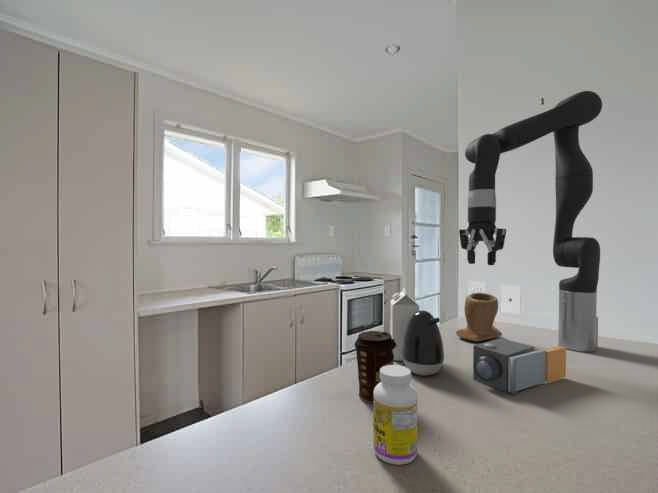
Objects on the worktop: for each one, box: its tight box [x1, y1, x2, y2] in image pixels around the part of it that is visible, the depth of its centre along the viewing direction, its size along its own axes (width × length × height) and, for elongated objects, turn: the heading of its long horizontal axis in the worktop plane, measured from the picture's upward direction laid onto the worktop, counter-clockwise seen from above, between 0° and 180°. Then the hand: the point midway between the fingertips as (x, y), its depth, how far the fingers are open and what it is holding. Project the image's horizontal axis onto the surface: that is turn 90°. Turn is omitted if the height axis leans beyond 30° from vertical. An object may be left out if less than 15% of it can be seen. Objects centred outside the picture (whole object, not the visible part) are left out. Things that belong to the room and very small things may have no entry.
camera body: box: [472, 337, 535, 393], centre depth 79 cm, size 14×8×8 cm, turn 122°
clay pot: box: [455, 292, 503, 342], centre depth 113 cm, size 15×12×15 cm
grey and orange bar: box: [508, 345, 567, 395], centre depth 77 cm, size 19×2×7 cm, turn 117°
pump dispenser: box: [402, 310, 445, 377], centre depth 85 cm, size 10×10×15 cm
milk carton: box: [389, 286, 420, 362], centre depth 96 cm, size 7×7×19 cm
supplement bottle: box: [372, 364, 419, 466], centre depth 53 cm, size 7×7×13 cm
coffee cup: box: [354, 330, 397, 404], centre depth 72 cm, size 9×8×13 cm
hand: (481, 264), depth 101 cm, fingers open, 5 cm apart
